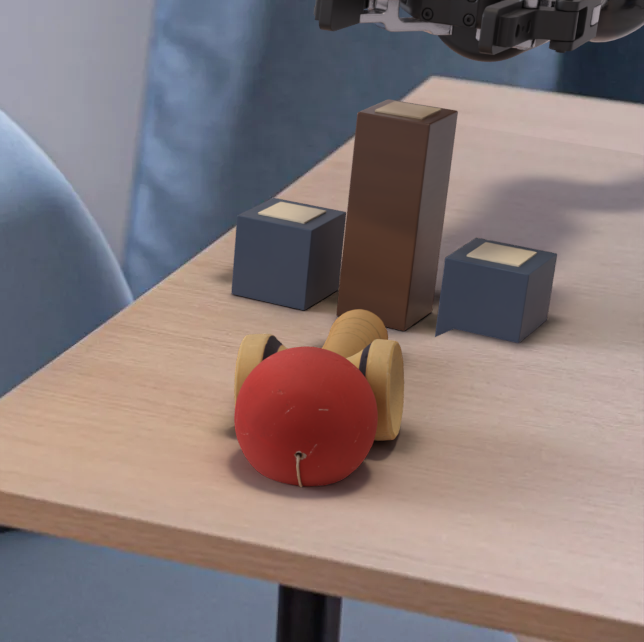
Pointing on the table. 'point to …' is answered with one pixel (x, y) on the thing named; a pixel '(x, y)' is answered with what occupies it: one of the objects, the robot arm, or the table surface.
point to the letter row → (325, 263)
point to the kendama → (318, 400)
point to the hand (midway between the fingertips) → (404, 20)
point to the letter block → (396, 211)
